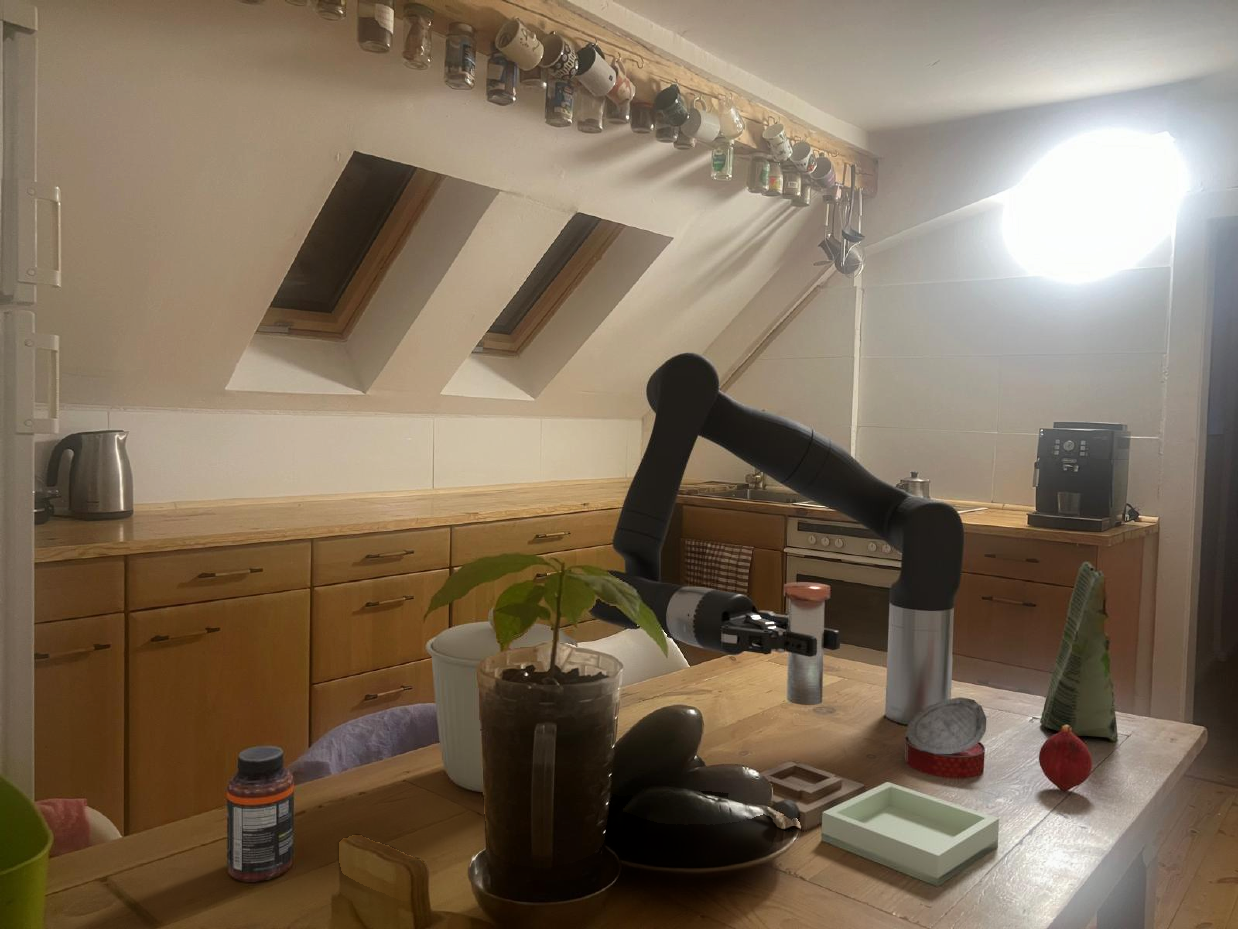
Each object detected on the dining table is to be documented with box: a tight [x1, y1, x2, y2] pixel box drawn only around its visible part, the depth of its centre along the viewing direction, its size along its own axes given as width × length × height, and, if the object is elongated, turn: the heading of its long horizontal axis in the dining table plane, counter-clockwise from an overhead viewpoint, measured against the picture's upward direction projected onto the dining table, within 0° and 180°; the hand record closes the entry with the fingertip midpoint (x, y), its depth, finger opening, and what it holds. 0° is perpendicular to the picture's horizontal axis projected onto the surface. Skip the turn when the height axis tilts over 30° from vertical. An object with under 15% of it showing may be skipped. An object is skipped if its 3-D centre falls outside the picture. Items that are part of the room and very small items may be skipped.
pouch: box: [1039, 561, 1119, 742], centre depth 135 cm, size 11×12×25 cm
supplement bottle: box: [226, 745, 295, 882], centre depth 88 cm, size 6×6×11 cm
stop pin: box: [783, 581, 831, 706], centre depth 107 cm, size 5×5×13 cm
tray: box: [821, 781, 1000, 887], centre depth 98 cm, size 13×13×3 cm
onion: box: [1038, 725, 1093, 792], centre depth 113 cm, size 6×6×8 cm
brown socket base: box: [760, 760, 866, 832], centre depth 107 cm, size 14×10×3 cm
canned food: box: [903, 697, 987, 779], centre depth 121 cm, size 11×10×10 cm
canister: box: [425, 606, 578, 793], centre depth 113 cm, size 18×18×21 cm
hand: (826, 643), depth 105 cm, fingers closed on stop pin, 4 cm apart
